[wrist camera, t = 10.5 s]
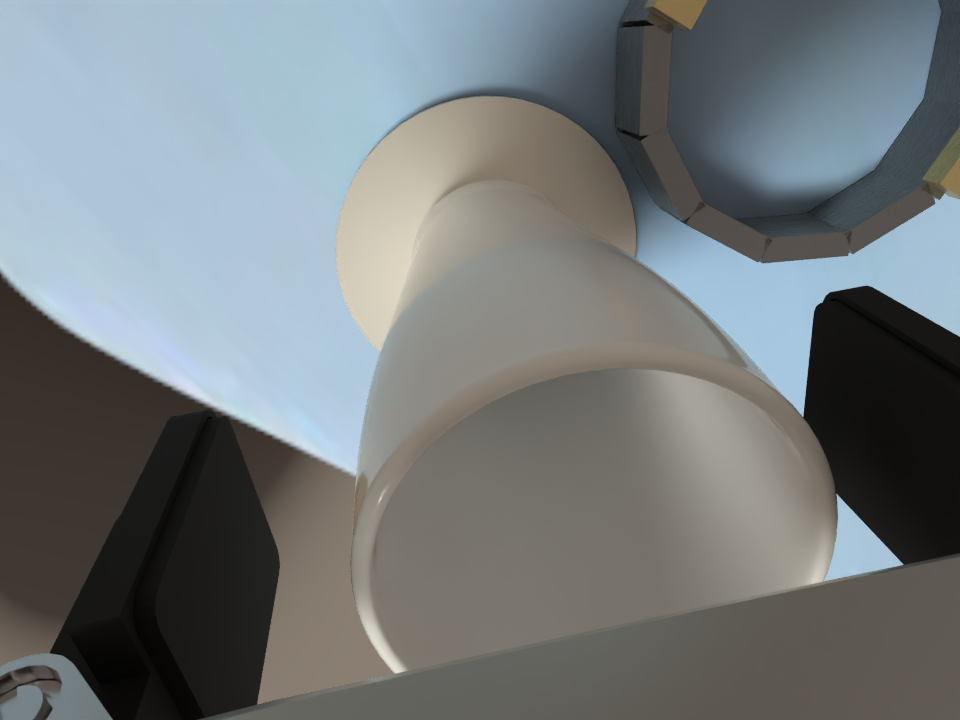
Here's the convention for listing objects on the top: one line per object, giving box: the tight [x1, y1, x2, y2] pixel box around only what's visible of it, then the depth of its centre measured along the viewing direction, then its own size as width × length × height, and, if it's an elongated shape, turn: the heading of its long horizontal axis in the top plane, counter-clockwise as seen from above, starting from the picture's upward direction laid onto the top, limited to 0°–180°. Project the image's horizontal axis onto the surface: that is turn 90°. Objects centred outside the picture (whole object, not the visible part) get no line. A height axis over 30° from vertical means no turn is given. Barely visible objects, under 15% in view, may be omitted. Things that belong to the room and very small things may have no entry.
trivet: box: [336, 96, 636, 352], centre depth 23 cm, size 10×10×1 cm
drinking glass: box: [350, 179, 838, 673], centre depth 16 cm, size 7×7×15 cm
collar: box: [615, 0, 960, 263], centre depth 20 cm, size 12×11×3 cm
